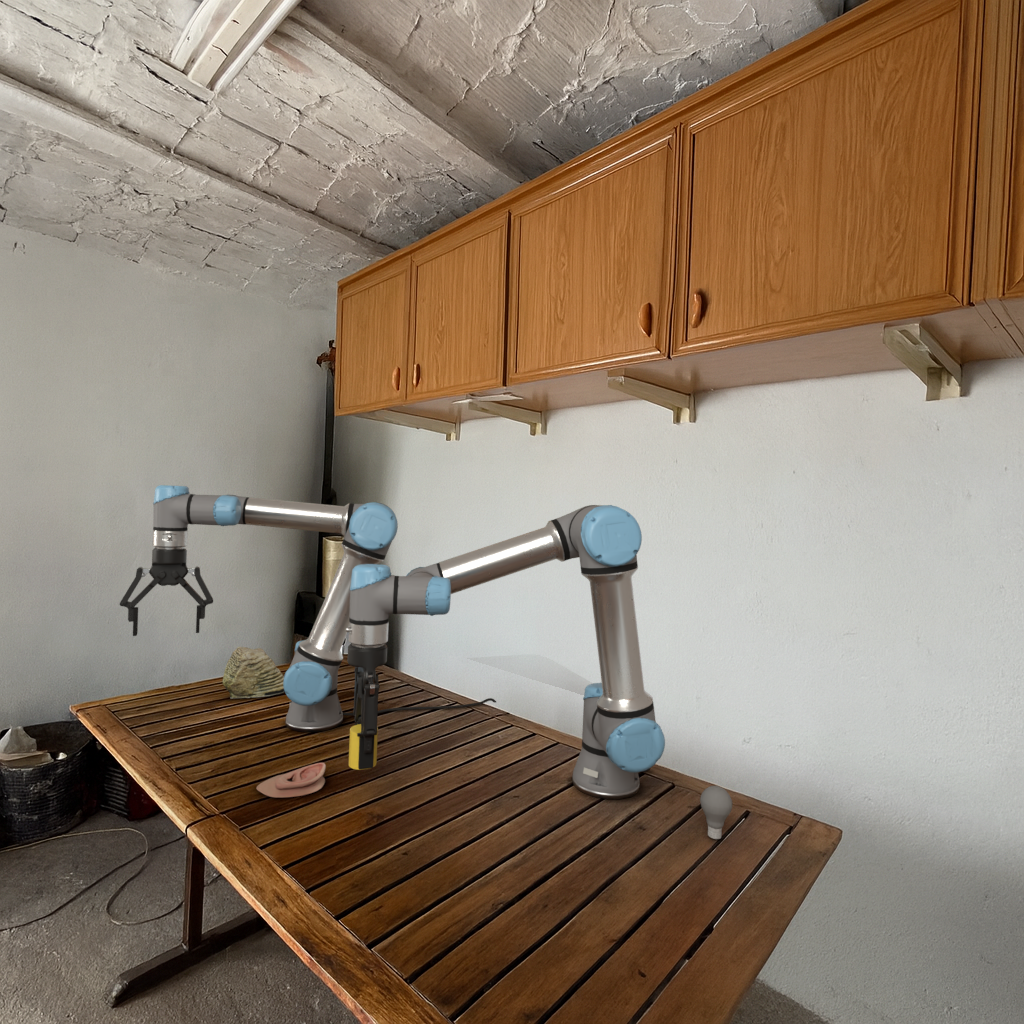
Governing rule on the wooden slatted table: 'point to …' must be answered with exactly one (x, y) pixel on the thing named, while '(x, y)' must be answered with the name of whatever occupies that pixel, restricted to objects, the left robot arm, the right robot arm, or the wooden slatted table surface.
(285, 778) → the anatomical model
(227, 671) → the fossil
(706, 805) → the light bulb
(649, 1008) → the wooden slatted table surface
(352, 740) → the cylinder
